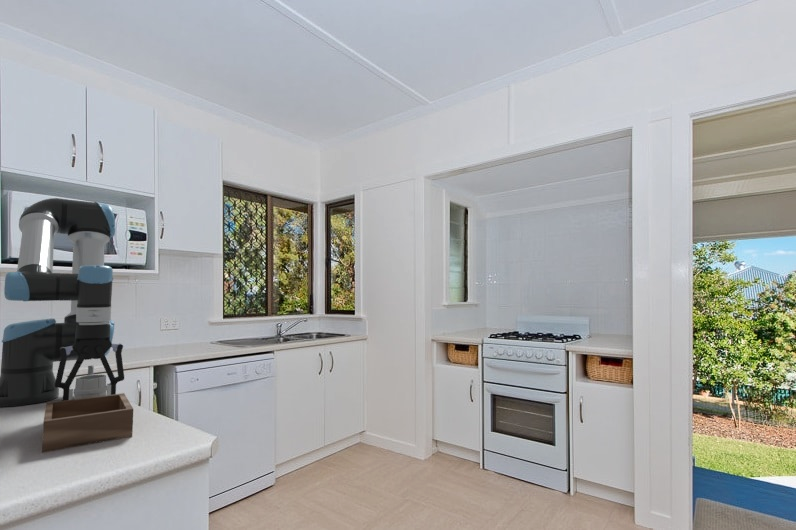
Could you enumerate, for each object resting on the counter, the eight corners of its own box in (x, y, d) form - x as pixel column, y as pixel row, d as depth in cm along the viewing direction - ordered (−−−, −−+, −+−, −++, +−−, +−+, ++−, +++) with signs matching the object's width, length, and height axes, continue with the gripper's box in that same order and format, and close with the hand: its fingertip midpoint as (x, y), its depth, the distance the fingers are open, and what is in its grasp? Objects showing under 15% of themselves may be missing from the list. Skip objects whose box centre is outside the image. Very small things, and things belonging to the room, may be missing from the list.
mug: (70, 421, 105) (73, 372, 105) (70, 411, 114) (73, 365, 115) (108, 416, 109) (110, 369, 110) (105, 406, 119) (107, 362, 119)
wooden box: (44, 428, 99) (46, 402, 100) (123, 417, 109) (124, 393, 109) (41, 452, 85) (43, 421, 85) (132, 436, 94) (133, 408, 95)
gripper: (43, 326, 104) (37, 421, 102) (139, 322, 116) (136, 408, 115) (44, 324, 110) (39, 414, 108) (136, 321, 122) (132, 402, 121)
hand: (89, 411), depth 112 cm, fingers closed on mug, 7 cm apart
